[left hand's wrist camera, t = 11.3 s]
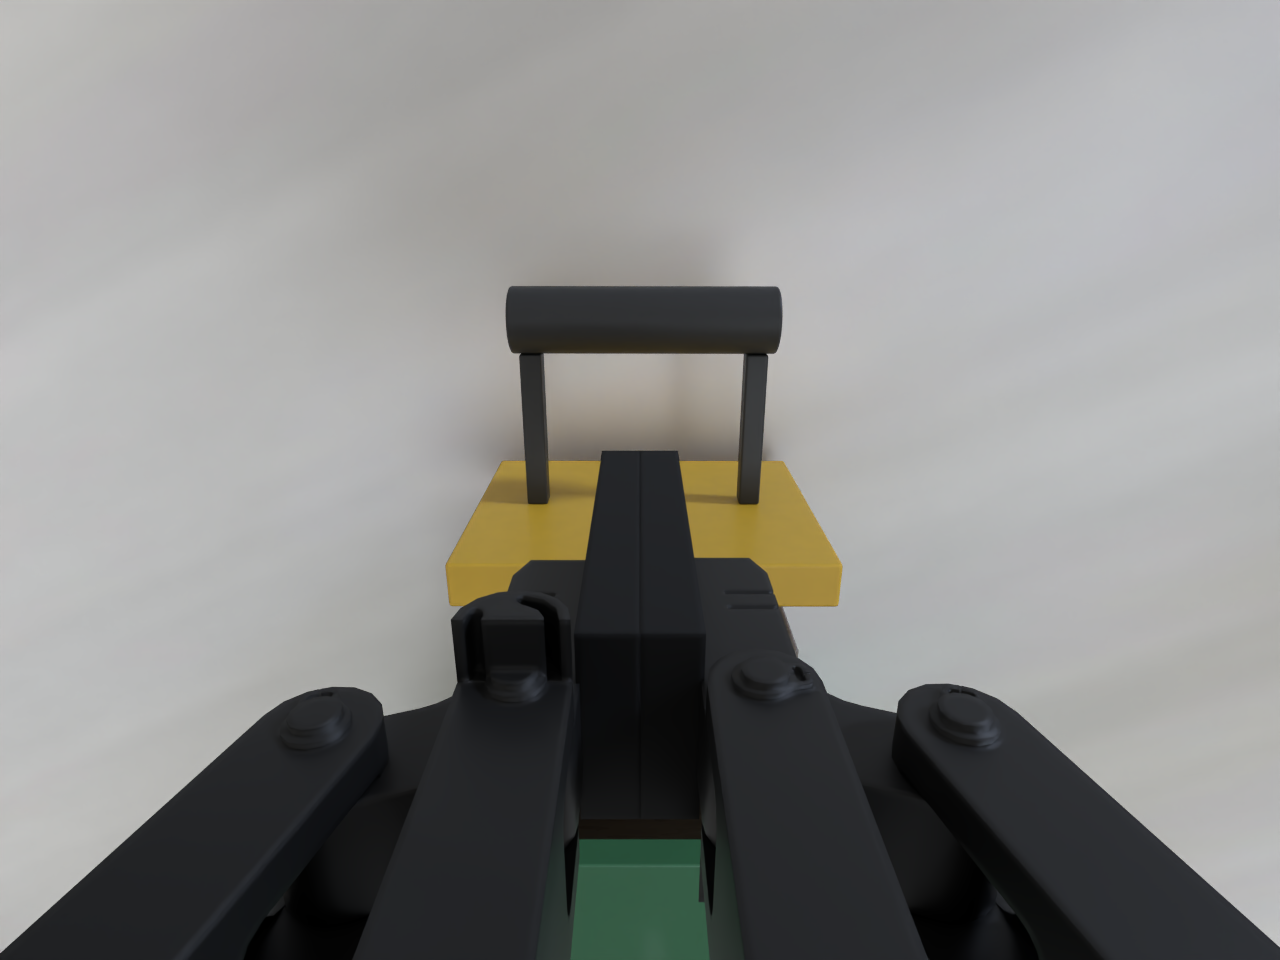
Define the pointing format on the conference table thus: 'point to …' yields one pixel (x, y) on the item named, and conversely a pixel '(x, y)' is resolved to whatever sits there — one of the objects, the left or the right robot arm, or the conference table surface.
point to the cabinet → (639, 901)
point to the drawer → (714, 490)
